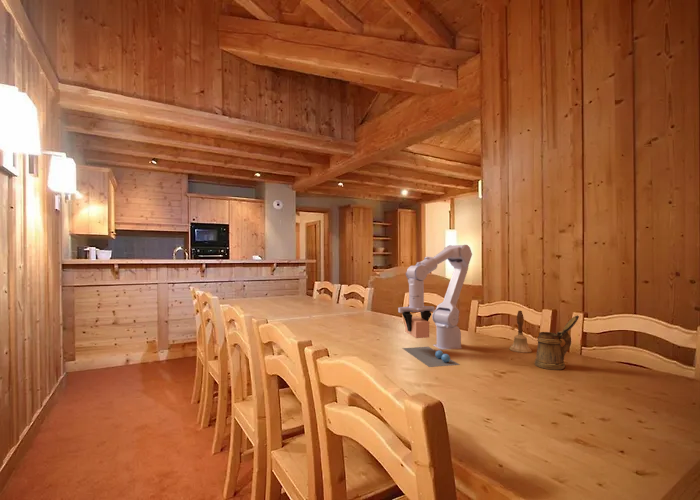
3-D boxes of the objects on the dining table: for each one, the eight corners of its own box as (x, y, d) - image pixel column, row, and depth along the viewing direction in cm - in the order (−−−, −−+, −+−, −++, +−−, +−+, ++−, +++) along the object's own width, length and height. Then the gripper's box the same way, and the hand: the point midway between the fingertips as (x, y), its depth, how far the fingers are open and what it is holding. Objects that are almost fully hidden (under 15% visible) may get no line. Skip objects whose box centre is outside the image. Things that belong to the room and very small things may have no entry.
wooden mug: (582, 373, 115) (581, 317, 115) (536, 368, 120) (535, 315, 120) (577, 365, 123) (576, 313, 123) (533, 361, 128) (532, 311, 128)
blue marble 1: (441, 357, 131) (441, 349, 132) (445, 359, 129) (445, 351, 129) (433, 357, 131) (433, 349, 131) (437, 360, 128) (437, 351, 128)
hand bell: (536, 352, 139) (535, 312, 140) (514, 352, 139) (514, 312, 140) (525, 347, 147) (525, 309, 148) (505, 347, 148) (505, 309, 148)
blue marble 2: (447, 360, 127) (447, 352, 127) (451, 363, 124) (451, 354, 124) (439, 361, 126) (439, 352, 126) (443, 363, 123) (443, 355, 123)
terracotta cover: (417, 330, 145) (417, 316, 145) (429, 337, 134) (429, 321, 134) (405, 331, 144) (405, 316, 144) (416, 338, 133) (416, 322, 133)
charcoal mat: (428, 347, 147) (428, 346, 147) (460, 366, 122) (460, 364, 122) (402, 349, 145) (402, 348, 145) (429, 368, 120) (429, 366, 120)
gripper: (402, 297, 134) (403, 333, 134) (437, 296, 137) (438, 331, 137) (396, 295, 141) (396, 329, 141) (429, 294, 144) (430, 328, 144)
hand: (416, 330), depth 139 cm, fingers closed on terracotta cover, 5 cm apart
